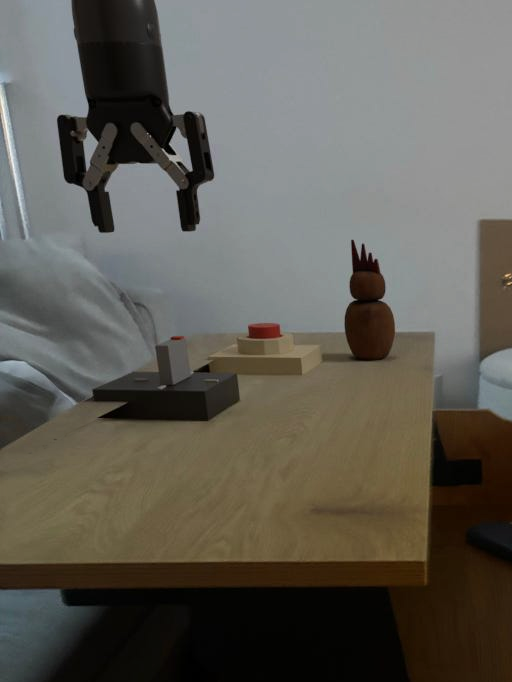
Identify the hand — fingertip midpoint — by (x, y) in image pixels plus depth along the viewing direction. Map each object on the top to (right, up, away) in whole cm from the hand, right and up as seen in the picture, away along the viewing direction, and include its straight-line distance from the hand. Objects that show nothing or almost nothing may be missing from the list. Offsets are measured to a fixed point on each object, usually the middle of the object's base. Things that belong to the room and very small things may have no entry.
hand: (147, 231), depth 98 cm
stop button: (+5, -2, +29) cm, 29 cm away
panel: (0, -16, +8) cm, 18 cm away
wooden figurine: (+18, -2, +36) cm, 41 cm away
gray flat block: (+1, -13, +7) cm, 15 cm away
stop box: (+5, -5, +30) cm, 31 cm away
